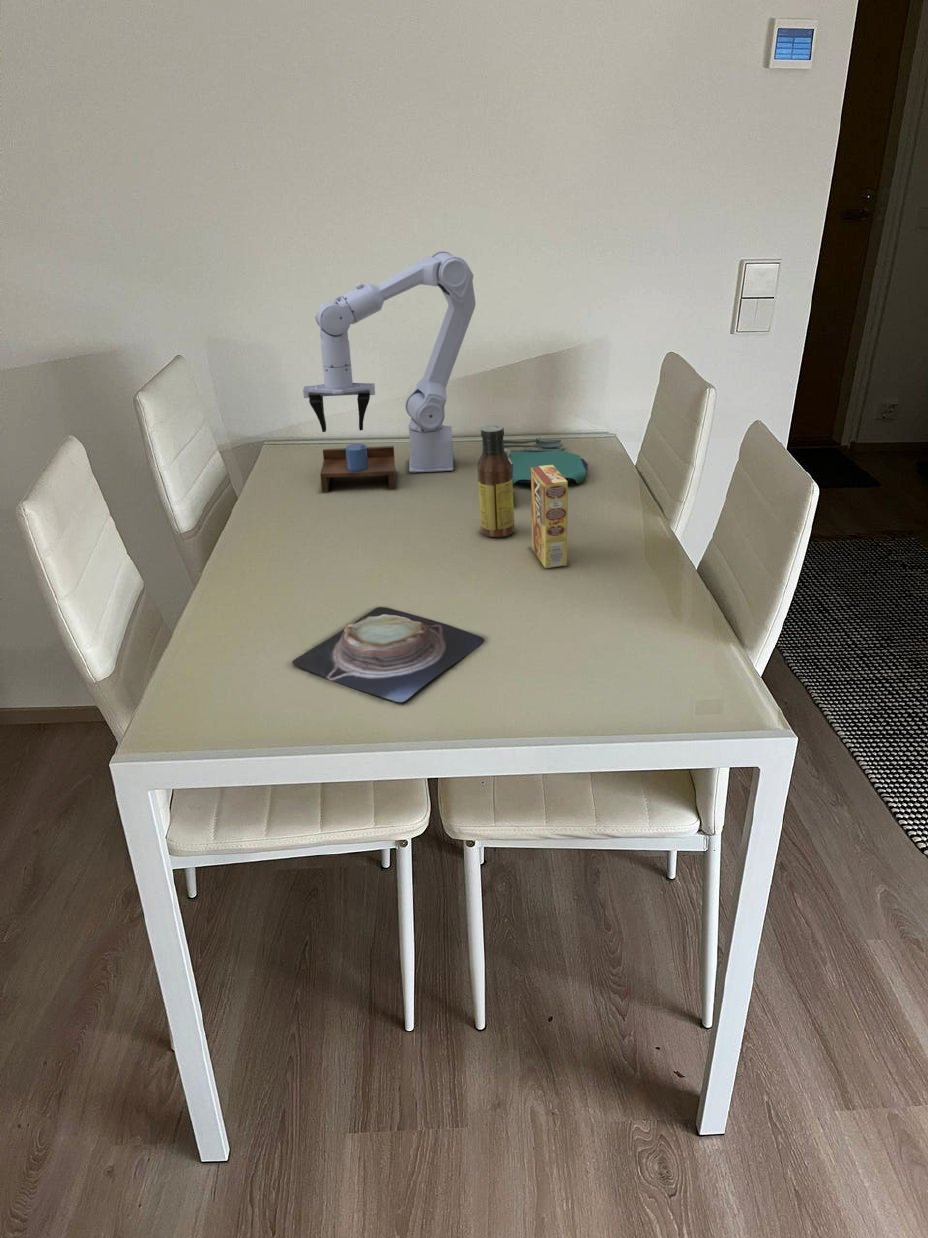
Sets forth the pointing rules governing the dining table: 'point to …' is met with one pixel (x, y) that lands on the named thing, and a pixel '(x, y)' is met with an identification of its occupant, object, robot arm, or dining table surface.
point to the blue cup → (356, 457)
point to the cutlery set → (545, 460)
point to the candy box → (549, 515)
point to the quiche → (389, 653)
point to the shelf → (378, 464)
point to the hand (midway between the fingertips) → (342, 429)
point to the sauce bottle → (495, 484)
